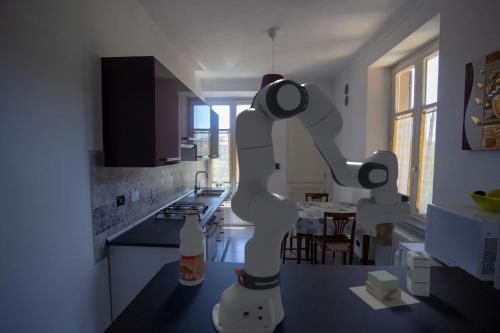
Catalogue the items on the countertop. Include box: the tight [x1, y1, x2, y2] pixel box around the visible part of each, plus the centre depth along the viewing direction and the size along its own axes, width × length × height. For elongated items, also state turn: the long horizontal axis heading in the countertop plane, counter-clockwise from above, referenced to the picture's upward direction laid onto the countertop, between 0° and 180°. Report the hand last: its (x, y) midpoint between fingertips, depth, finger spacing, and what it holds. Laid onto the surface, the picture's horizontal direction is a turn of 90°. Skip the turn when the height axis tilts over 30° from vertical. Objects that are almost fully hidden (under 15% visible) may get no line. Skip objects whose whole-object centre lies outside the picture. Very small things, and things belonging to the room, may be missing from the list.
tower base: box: [365, 280, 402, 302], centre depth 93 cm, size 8×8×4 cm
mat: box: [348, 285, 421, 310], centre depth 93 cm, size 18×14×1 cm
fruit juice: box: [178, 209, 205, 286], centre depth 102 cm, size 9×9×28 cm
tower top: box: [367, 269, 400, 291], centre depth 93 cm, size 7×7×4 cm
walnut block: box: [371, 223, 394, 248], centre depth 93 cm, size 4×4×8 cm
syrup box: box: [406, 250, 431, 297], centre depth 95 cm, size 6×6×14 cm
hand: (382, 235), depth 93 cm, fingers closed on walnut block, 4 cm apart
